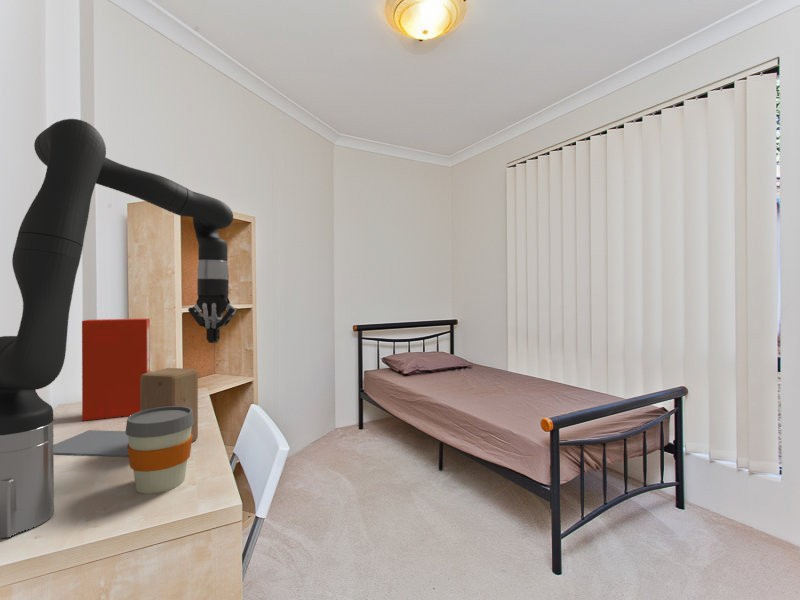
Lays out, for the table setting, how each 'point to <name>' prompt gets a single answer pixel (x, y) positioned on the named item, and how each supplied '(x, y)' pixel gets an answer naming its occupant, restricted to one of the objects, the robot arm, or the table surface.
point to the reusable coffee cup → (159, 447)
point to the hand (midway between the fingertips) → (213, 342)
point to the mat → (94, 444)
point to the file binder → (113, 366)
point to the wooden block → (171, 391)
